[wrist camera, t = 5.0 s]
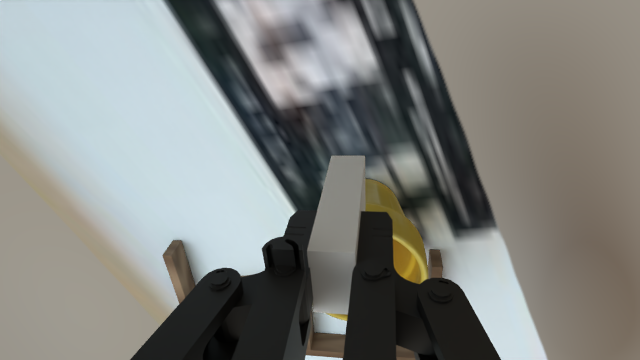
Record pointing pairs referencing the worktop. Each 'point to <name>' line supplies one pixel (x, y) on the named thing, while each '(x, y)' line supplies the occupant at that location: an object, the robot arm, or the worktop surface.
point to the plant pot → (397, 235)
